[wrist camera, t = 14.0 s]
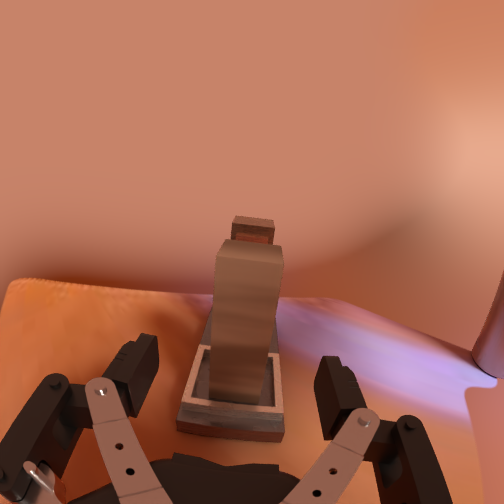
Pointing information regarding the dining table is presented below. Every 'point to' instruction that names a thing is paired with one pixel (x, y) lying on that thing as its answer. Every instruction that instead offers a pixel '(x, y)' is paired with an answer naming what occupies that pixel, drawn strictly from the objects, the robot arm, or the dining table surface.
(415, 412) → the dining table surface
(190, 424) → the brown post on slab
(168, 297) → the dining table surface
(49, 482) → the robot arm
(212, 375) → the wooden post
